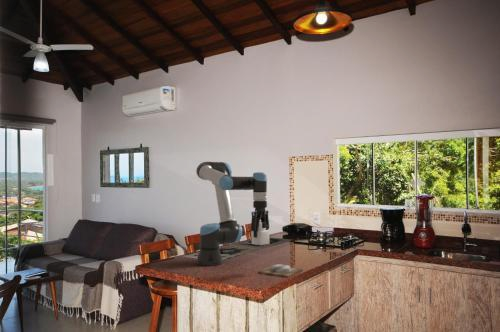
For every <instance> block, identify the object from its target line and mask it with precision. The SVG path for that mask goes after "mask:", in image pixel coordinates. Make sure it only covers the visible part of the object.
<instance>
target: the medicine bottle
mask: <svg viewBox="0 0 500 332" xmlns="http://www.w3.org/2000/svg"><path fill="white" fill-rule="evenodd" d="M265 229H266V223H265V222H261V221H260V222H259V227H258V231H259V244H254V232H253V231H252V230H251V235H250V236H251V238H250V239H251V245H258V246H263V245H269V244H270V230H265Z"/></svg>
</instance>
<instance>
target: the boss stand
mask: <svg viewBox="0 0 500 332" xmlns="http://www.w3.org/2000/svg"><path fill="white" fill-rule="evenodd" d="M303 270H304V269H303V268H299V267H298V268H297V267H292V266H290V265H287V264H282V263H281V264H278V263H277V264H272V265H271V266H268V267H265V268H263V269H259V270H258V271H257V272H258V274H260V275H261V274H263V275H267V274H268V276H273V277H280V276H281V278H288V279H289V278H291V277H293V276H295V275H297V274H299V273H301V272H303Z"/></svg>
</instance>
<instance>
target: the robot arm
mask: <svg viewBox="0 0 500 332" xmlns="http://www.w3.org/2000/svg"><path fill="white" fill-rule="evenodd" d="M195 172H196V176H197V177H198V179H201V180H203V181H209V182H211V184H212V185H213V186H214V189H215V190H214V191H215V196H216V201H217V207H218V214H219V222H218V223H217V222H216V223H215V222H213V223H211V222H210V223H206V224H203V225H201V226H200V230H199V252H198V255H197V259H196V264H197V265H199V266H204V267H207V266H208V267H209V266H219V265H222V264H223V258H222V256H221V255H222V254H221V251H220V245H228V244H229V245H233V244H236V243H238V242H240V241H241V240H242V236H243V228H242V226H241V224H239V223H238V222H237V221H238V220H237V219H235V218H234V211H233V206H232V201H231V195H230V191H252V200H253V201H252V203H253V204H252V207H253V208H254V211H251V223H250V230H251V231H253V232H254V244H253V245H256V244H259V231H258V227H259V222H265V223H266V229H265V230H268V231H270V219H269V210H266V208H268V201H267V200H268V199H267V198H268V195H267V193H268V190H267V189H268V188H267V187H268V186H267V185H268V182H267V181H268V179H267V173H266V172H261V171H259V172H253V174H252V176H234V175H233V176H232V174H233V173H232V172H233V171H232V168H231V166H230V164H228V163H227V162H224V161H223V162H222V161H203V162H201V163H200V164H199V165H197V167H196V171H195Z"/></svg>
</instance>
